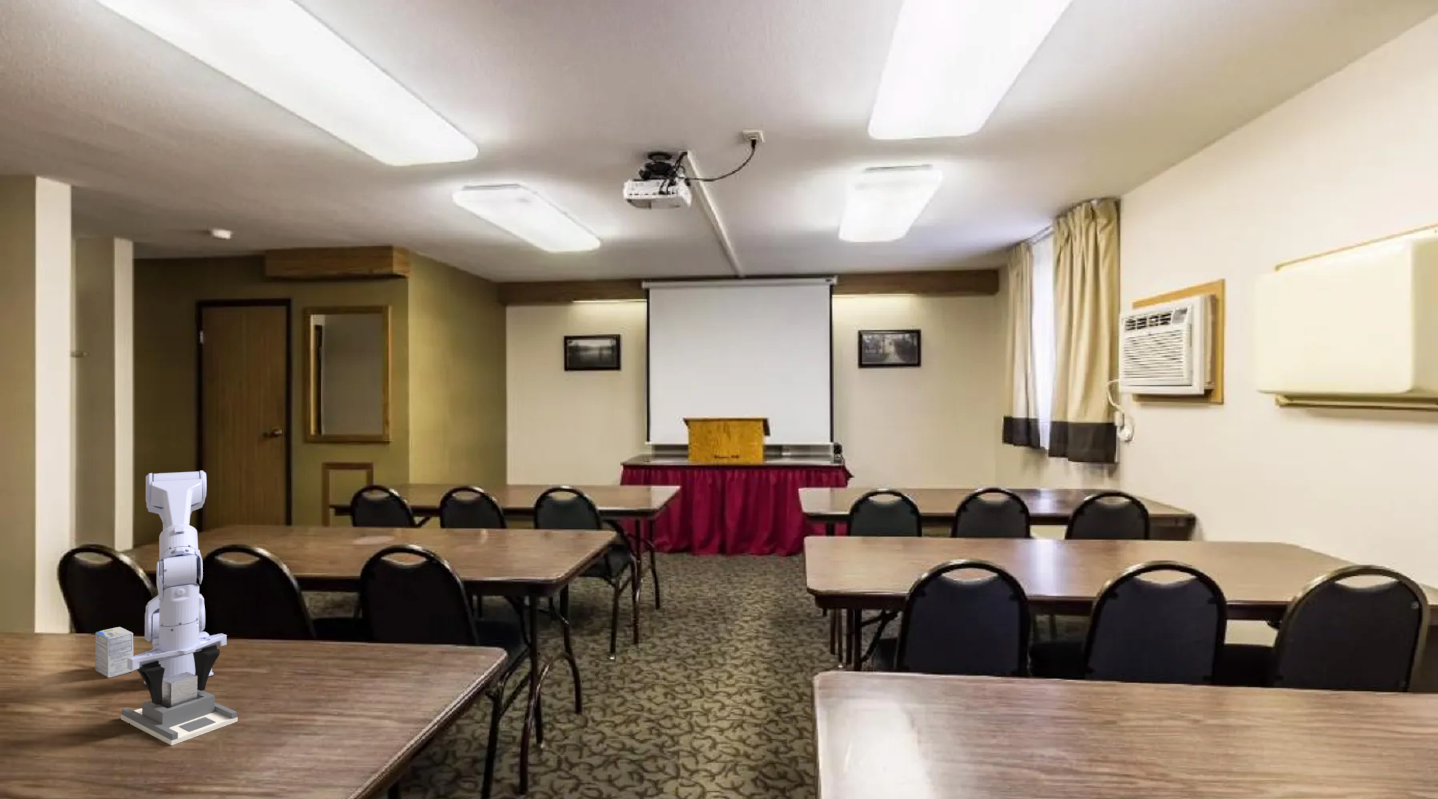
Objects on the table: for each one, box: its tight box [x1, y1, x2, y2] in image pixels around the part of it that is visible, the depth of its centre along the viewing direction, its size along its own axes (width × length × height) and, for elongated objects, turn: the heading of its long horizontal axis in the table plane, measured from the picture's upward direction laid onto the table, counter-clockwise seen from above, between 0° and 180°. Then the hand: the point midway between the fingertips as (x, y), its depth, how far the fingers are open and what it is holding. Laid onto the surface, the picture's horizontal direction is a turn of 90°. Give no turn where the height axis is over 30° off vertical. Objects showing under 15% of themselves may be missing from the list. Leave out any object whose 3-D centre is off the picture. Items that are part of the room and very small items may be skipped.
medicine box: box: [94, 626, 134, 679], centre depth 146 cm, size 8×4×9 cm, turn 58°
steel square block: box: [161, 672, 197, 709], centre depth 123 cm, size 4×4×7 cm
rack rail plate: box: [120, 690, 239, 746], centre depth 123 cm, size 10×20×4 cm, turn 60°
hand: (179, 696), depth 123 cm, fingers open, 6 cm apart
